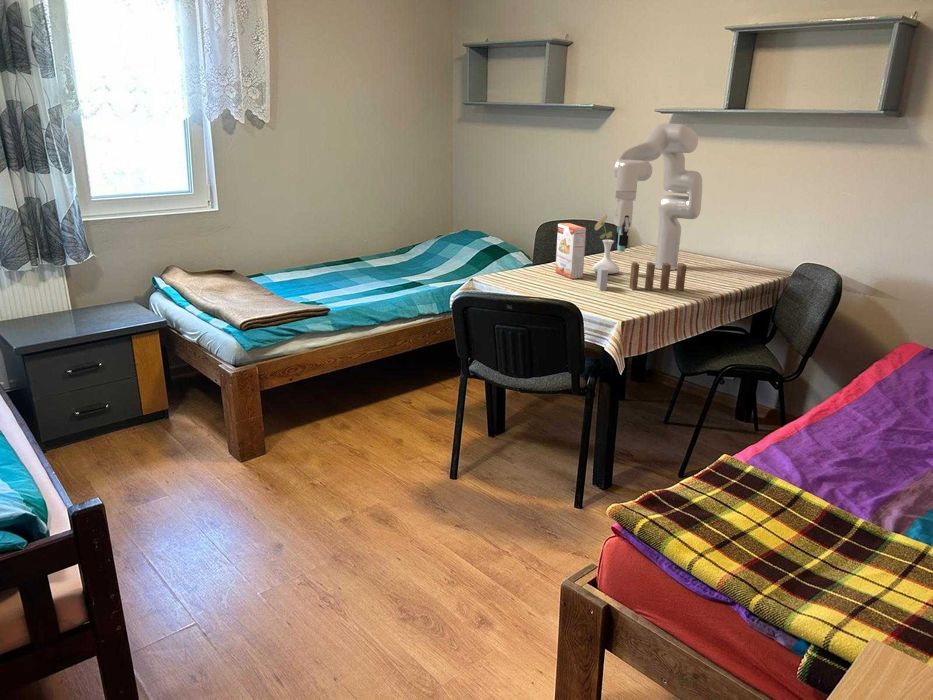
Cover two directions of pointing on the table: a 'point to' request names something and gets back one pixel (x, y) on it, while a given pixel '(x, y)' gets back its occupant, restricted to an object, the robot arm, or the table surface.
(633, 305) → the table surface
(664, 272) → the tile
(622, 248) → the teal block
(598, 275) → the end block
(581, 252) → the cracker box
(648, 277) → the tile
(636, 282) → the brown wooden block
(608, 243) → the flower in vase
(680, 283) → the brown wooden block
